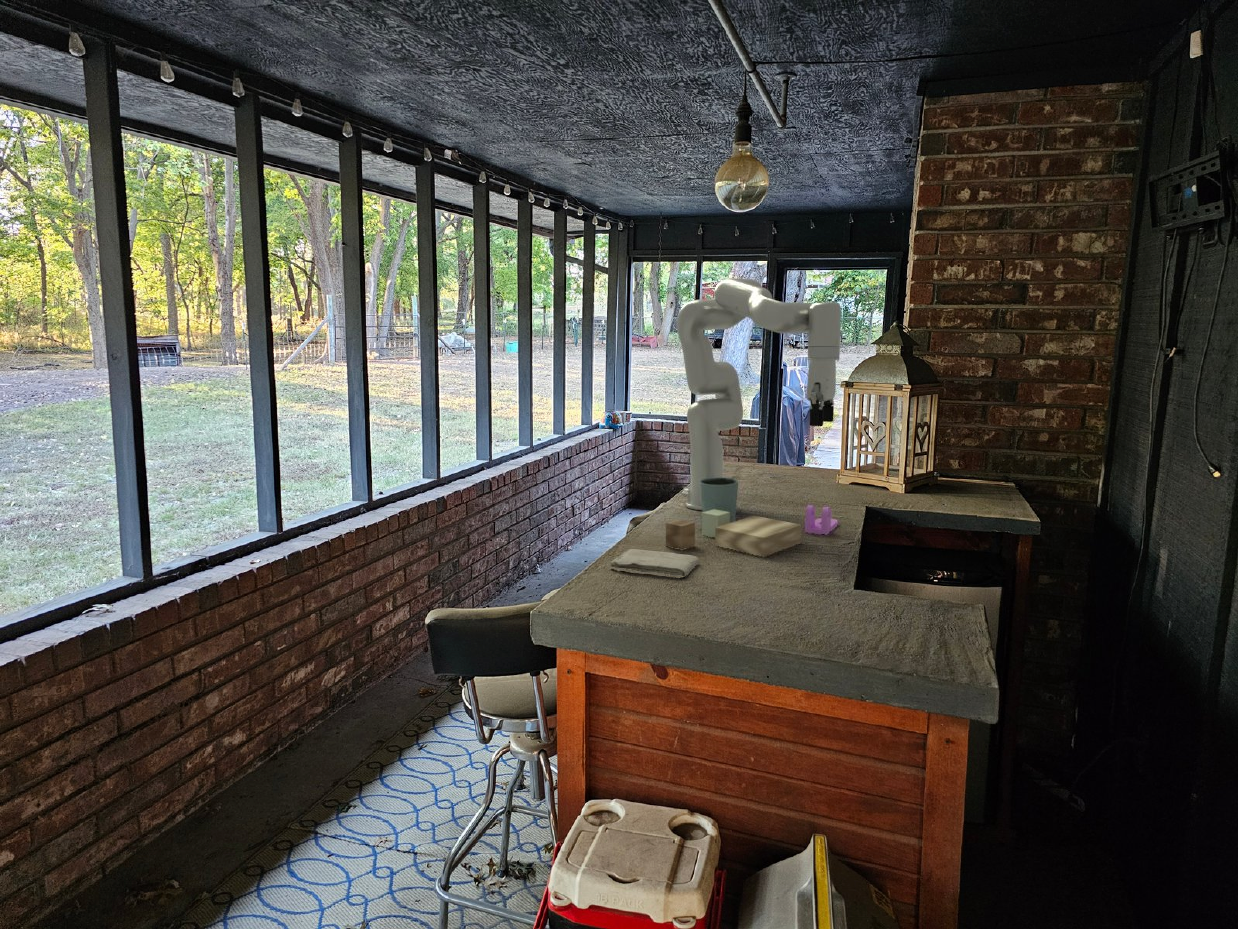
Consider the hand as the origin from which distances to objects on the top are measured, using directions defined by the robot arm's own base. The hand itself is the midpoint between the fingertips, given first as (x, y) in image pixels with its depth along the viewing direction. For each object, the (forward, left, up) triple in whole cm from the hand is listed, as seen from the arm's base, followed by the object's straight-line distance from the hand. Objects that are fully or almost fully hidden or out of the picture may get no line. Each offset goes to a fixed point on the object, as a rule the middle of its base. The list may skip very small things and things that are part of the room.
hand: (821, 423), depth 192 cm
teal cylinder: (-25, -8, -29) cm, 39 cm away
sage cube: (-19, -17, -28) cm, 38 cm away
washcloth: (-13, -48, -29) cm, 57 cm away
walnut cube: (-19, -31, -28) cm, 46 cm away
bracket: (-3, +7, -29) cm, 30 cm away
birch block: (-6, -17, -29) cm, 34 cm away
